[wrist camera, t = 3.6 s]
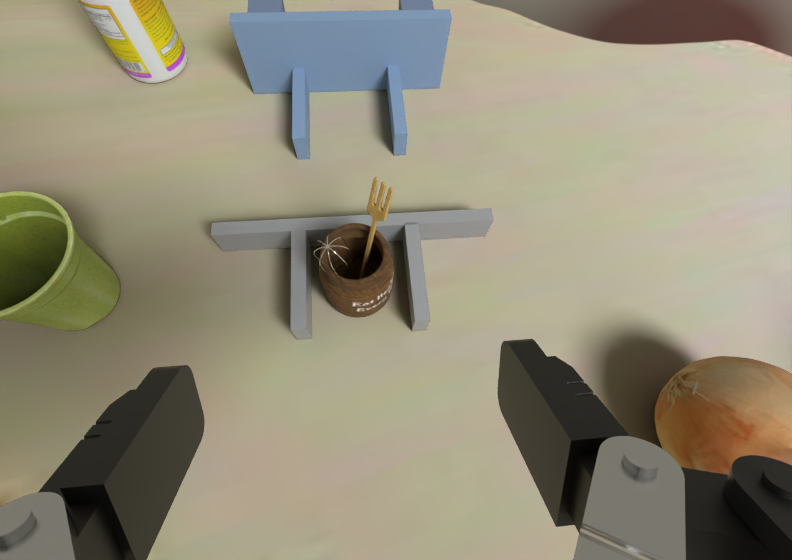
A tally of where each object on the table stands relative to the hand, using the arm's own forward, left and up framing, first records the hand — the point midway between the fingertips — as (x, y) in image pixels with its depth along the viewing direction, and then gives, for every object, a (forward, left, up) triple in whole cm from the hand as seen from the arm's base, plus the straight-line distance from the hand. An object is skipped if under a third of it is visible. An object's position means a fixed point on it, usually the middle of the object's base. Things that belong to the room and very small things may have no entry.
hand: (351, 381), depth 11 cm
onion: (+16, -20, -23) cm, 35 cm away
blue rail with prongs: (+23, +23, -23) cm, 39 cm away
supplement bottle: (+13, +42, -23) cm, 50 cm away
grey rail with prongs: (+8, +8, -23) cm, 26 cm away
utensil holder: (+8, +8, -23) cm, 26 cm away
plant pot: (-8, +25, -23) cm, 35 cm away
